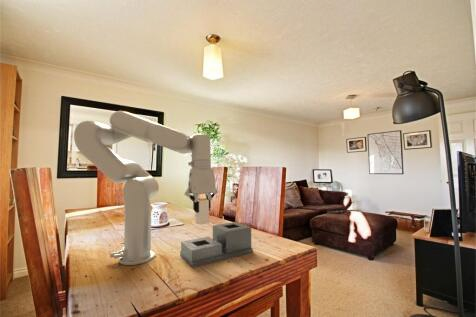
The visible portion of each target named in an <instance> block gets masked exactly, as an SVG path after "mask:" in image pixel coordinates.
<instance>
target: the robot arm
mask: <svg viewBox="0 0 476 317" xmlns="http://www.w3.org/2000/svg"><path fill="white" fill-rule="evenodd" d="M109 124H110V125H109ZM109 124H108V125H107V124H104V123H100V122H97V121H94V120H85V121H84V120H83V121H81V122H80V123H78V124H77V125H76V127H75V129H74V132H73V139H74V144H75V146H76V148H77V150H78V151H79V152H80V153H81V154H82V155H83V157H85V158H86V159H87V160H88V161H89V162H90V163H92V164H93V166H94V167H96V169H98V170H99V171H100V172H101V173H102V174H103V175H104V176H105V177H106V178H108V179H109V180H110V181H111V182H113V183H116V184H124V183H125V184H124V185H123V189H122V198H123V205H124V206H123V208H124V226H123V227H124V232H123V233H124V237H123V238H124V239H123V240H124V241H123V243H124V244H123V246H122V249H120V250H118V251H112V252H109V258H110V259H112V258H114V259H118V262H119V264H121V265H124V266H134V265H135V266H136V265H140V264H145V263H147V262H150V261H152V260H153V259H154V258H155V256H156V253H155V252H154V251H153V250H152V206H151V200H150V199H152V198H154V197H155V196H156V195H157V194H158V192H159V190H160V189H159V188H160V186H159V182H158V181H157V180H156V179H155V177H154V176H152V174H150V173H149V172H148V171H147V170H146V169H145V168H144V167H142V166H141V165H140V164H139V163H137V162H136V161H132V160H129V159H124V158H122V157H120V156H119V155H118V154H117V153H115V152H114V151H113V150H112V149H111V148H110V147H109V146H111V145H114V144H117V143H120V142H122V141H124V140H127V139H129V138H135V139H138V140H140V141H143V142H145V143H152V144H154V145H157V146H161V147H163V148H165V149H169V150H171V151H174V152H177V153H179V154H185V155H186V154H189V153H190V154H191V161H189V162H188V163H187V164H188V166H189V167H191V168H190V169H189V174H188V185H187V189H186V190H185V191H184V195H185V197H188V198H189V199H190V200H191V201H192V202H193V205H192V208H193V212H195V213H196V212H197V213H198V212H199V202H198V198H199V195H202V194H203V195H205V198H206V200H209V212H210V211H211V208H212V207H211V206H212V205H211V203H212V202H211V201H212V200H213V198H214V197H215V195H217V194H218V193H219V191H218V189H217V187H216V186H217V185H216V178H215V172H214V168H212V165H211V164H212V163H211V162H212V161H211V160H212V158H211V157H212V156H211V136H210V134H209V135H208V134H205V133H195V134H192V136H189V135H187V134H185V133H183V132H182V131H179V130H177V129H175V128H171V127H168V126H165V125H162V124H160V123H157V122H155V121H151V120H150V119H146V118H143V117H140V116H138V115H135V114H133V113H130V112H128V111H124V110H118V111H115V112H113V113H112V114H111V115H110V117H109Z"/></svg>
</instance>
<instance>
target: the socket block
mask: <svg viewBox="0 0 476 317" xmlns="http://www.w3.org/2000/svg"><path fill="white" fill-rule="evenodd" d="M179 252H180V254H179V255H180V257H182V259H183V260H184V261H186V262H187V263H188V264H189V266H191V268H196V267H200V266H204V265H209V264H213V263H217V262H220V261H224V260H229V259H232V258H235V257H241V256H244V255H247V254H252V253H254V249H253V248H252V226H249V225H247V224H244V223H241V222H237V221H232V222H227V223H221V224H220V223H219V224H213V225H212V237H210V236H204V237H199V238H193V239H188V240H184V241H181V242H180V251H179Z"/></svg>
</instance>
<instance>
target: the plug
mask: <svg viewBox="0 0 476 317" xmlns="http://www.w3.org/2000/svg"><path fill="white" fill-rule="evenodd" d="M198 202H199V212H198V213H197V212H195V224H197V225H199V226H201V225H207V224H210V211H209V200H206V197H200V198H199V197H198Z"/></svg>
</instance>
